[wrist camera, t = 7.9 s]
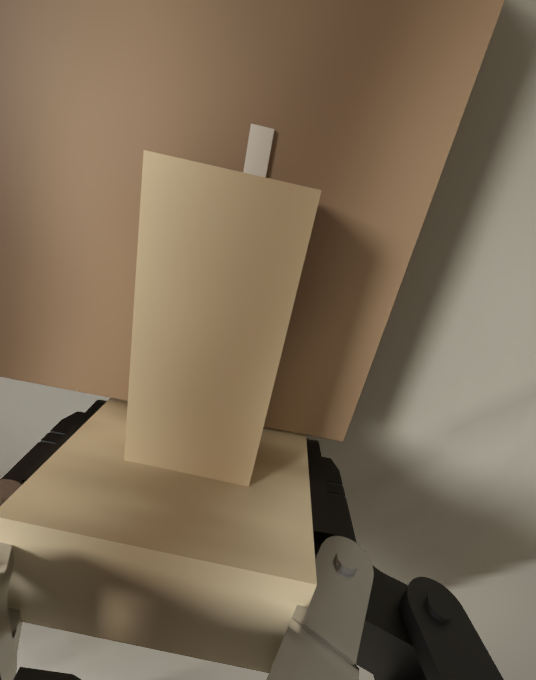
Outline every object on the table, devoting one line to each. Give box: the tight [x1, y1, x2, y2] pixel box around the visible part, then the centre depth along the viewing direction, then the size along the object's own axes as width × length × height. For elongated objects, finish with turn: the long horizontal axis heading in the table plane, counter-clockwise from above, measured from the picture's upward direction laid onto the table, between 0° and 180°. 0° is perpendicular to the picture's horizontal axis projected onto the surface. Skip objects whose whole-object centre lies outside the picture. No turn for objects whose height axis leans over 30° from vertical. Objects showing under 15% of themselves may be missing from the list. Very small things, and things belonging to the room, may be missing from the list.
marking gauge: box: [0, 150, 322, 673], centre depth 8 cm, size 6×10×6 cm, turn 168°
